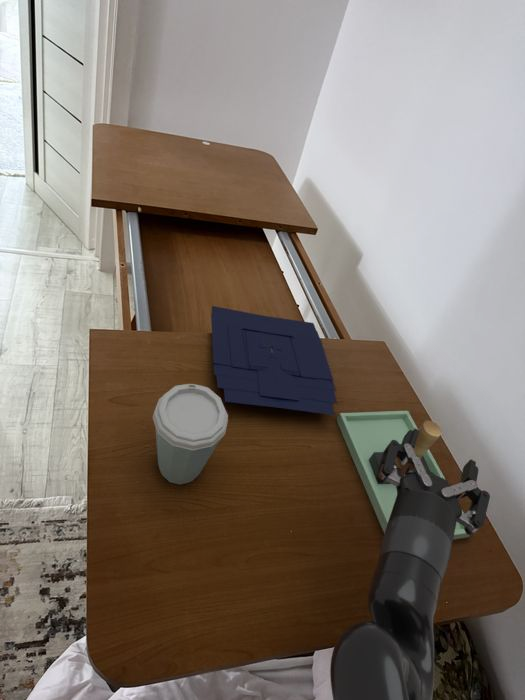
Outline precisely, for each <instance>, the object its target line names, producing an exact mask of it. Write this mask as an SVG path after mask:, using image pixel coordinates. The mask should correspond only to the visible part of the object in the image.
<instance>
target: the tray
mask: <svg viewBox="0 0 525 700" xmlns="http://www.w3.org/2000/svg"><path fill="white" fill-rule="evenodd" d="M335 420H336V422H337V425H338V428H339V430H340V432H341V434H342V437H343V440H344V442H345V445H346V447H347V449H348V451H349V454H350V456H351V459H352V461H353V463H354V465H355V468H356V471H357V473H358V476H359V477H360V480H361V482H362V484H363V488H364V489H365V492H366V494H367V496H368V499H369V502H370V503H371V506H372V508H373V511H374V513H375V515H376V518H377V520H378V522H379V525H380V527H381V529H382V532H383V534H384V533H385V530H386V527H387V524H388V521H389V518H390V515H391V512H392V509H393V506H394V503H395V500H396V497H397V489H396V486H395V485H393V484H378V483H377V481H376V478H375V475H374V473H373V470H372V468H371V465H370V462H369V458H370V457H371V456H372V454H373V453H374V452H384V450H385V449H386V447H387V446H388V445H389V443H390V442H391V441H392V440H396V441H398V443H399V444H401V443H402V441H403V438H404V436H405V435H406V433H407V432H408V431H409V430H412V431H413V430H414V429H417V430H419V428H418V427H417V425H416V423H415V421H414V419H413V418H412V416H411V414H410V411H409V410H390V411H389V410H387V411H362V412H361V411H360V412H359V411H358V412H339V414H338V416H337V418H336V419H335ZM423 456H424V458H425V460H426V462H427V465H428V467H429V469H430V471H431V472H433V473H434V474H435V475H436V476H438V477H441V478H443V479H445V480H446V478H445V476H444V474H443V472H442V470H441V469H440V467H439V464H438V463H437V461H436V459H435V457H434V456H433V454H432V452H431V450H430V448H429V449H428V450H427V452H426V453H425V454H424V455H423ZM462 513H464V514H465V512H464V511H463V510H462ZM470 536H471V535H468V534H467V533H466V532H465V530H464V526H463V525H461V524H460V523H458V522H457V523H456V528H455V533H454V538H453V541H454V540H460V539H466V538H469V537H470Z"/></svg>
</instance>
